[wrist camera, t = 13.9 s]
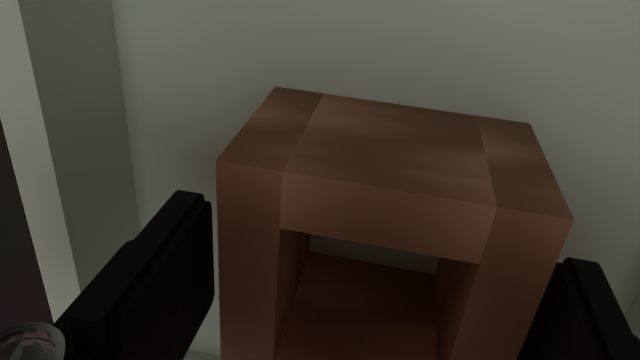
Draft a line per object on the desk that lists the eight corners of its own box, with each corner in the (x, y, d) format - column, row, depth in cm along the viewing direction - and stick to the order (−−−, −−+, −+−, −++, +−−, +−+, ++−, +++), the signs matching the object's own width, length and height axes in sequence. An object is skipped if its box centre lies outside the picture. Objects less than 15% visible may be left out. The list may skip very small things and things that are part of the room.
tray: (578, 427, 17) (616, 558, 14) (144, 335, 19) (82, 430, 16) (875, -106, 9) (1143, -109, 6) (74, -173, 11) (-84, -205, 8)
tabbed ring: (530, 123, 11) (574, 220, 8) (450, 371, 16) (456, 503, 12) (275, 86, 12) (215, 159, 9) (265, 333, 16) (222, 448, 13)
